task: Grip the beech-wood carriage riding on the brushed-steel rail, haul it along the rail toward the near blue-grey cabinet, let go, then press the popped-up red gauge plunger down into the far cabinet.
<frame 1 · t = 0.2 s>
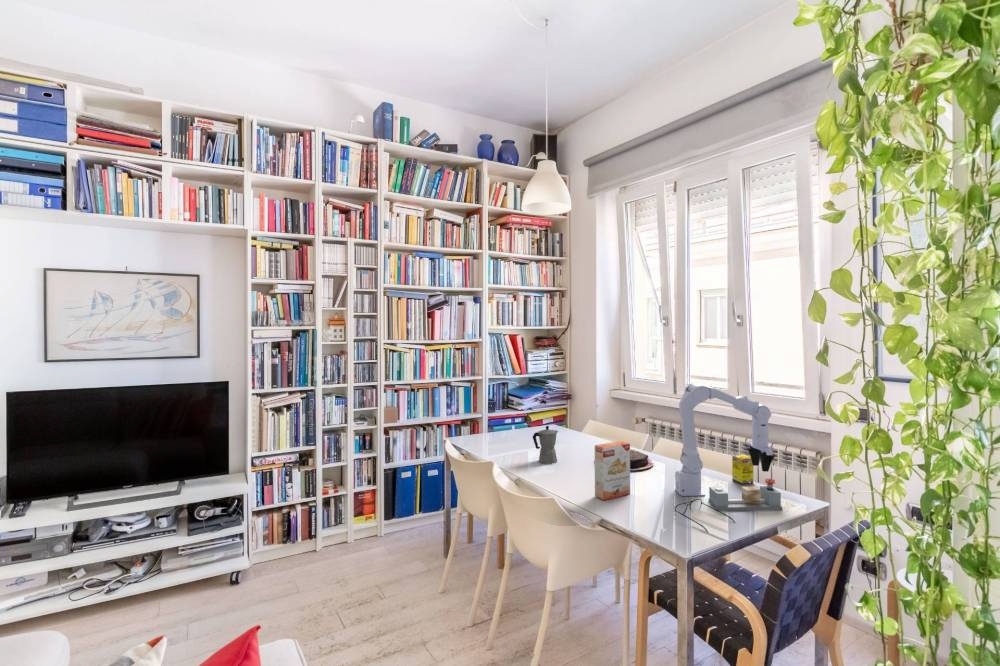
hand: (760, 468, 193), 10 cm above the table, fingers open, 7 cm apart
rail bench: (744, 505, 181), on the table
chocolate cake: (623, 464, 237), on the table
gauge plunger: (770, 485, 180), point 8 cm above the table, slide at 0.0 cm
supplement box: (742, 482, 206), on the table
coffeepot: (546, 462, 242), on the table
glasses: (704, 522, 169), on the table
cracker box: (612, 496, 194), on the table
carriage: (751, 494, 181), point 4 cm above the table, slide at 0.0 cm
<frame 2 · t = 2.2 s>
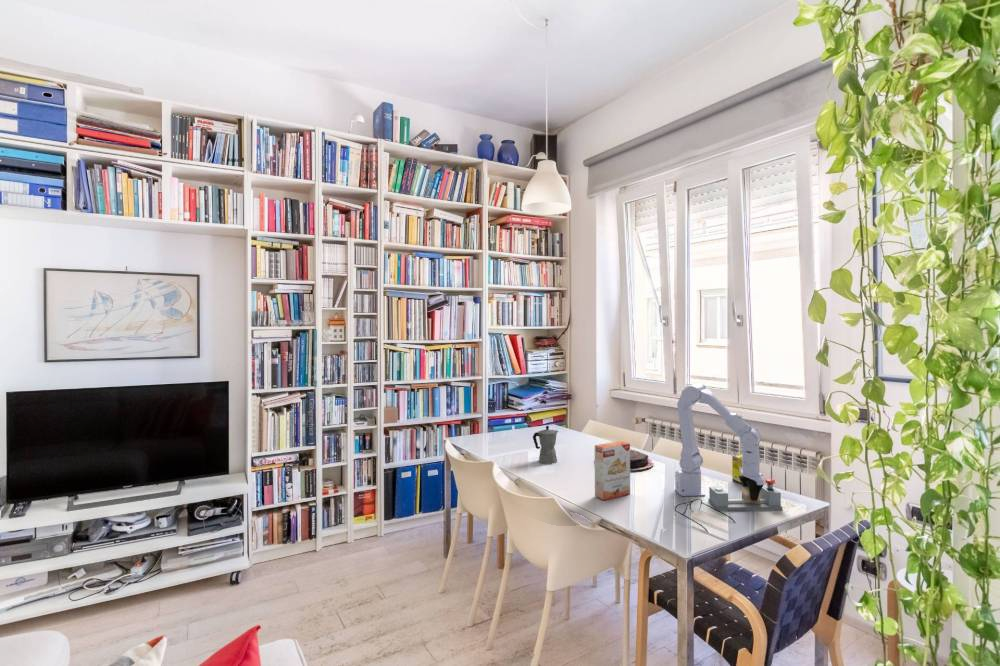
hand: (751, 497, 181), 3 cm above the table, fingers closed on carriage, 4 cm apart
carriage: (751, 494, 181), point 4 cm above the table, slide at 0.0 cm, touching gripper
everything else where it was.
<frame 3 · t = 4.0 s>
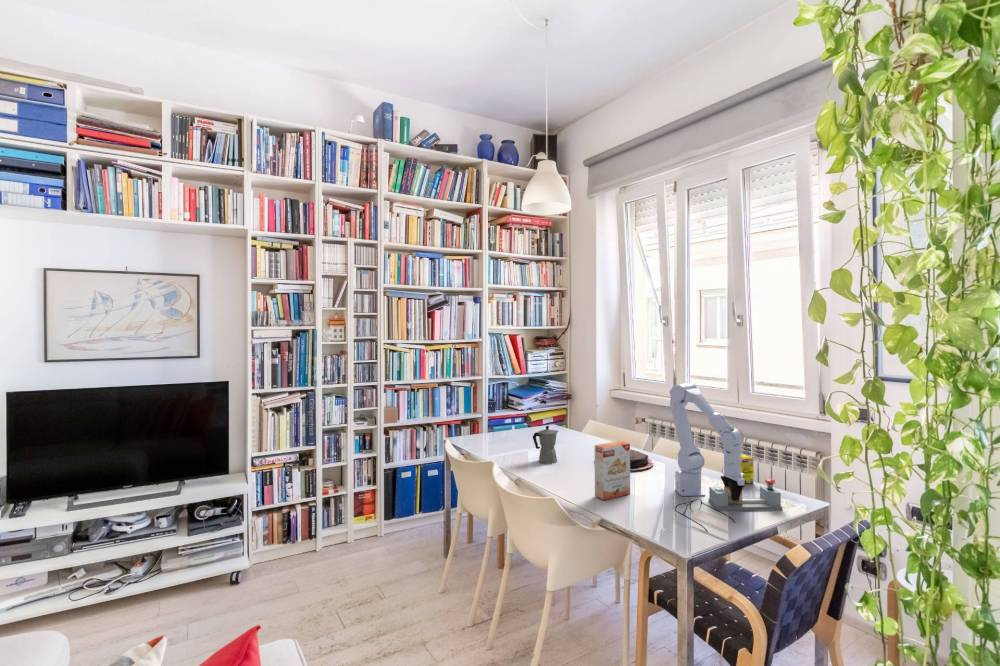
hand: (732, 498, 181), 3 cm above the table, fingers closed on carriage, 4 cm apart
carriage: (733, 495, 181), point 4 cm above the table, slide at 6.6 cm, touching gripper
everything else where it was.
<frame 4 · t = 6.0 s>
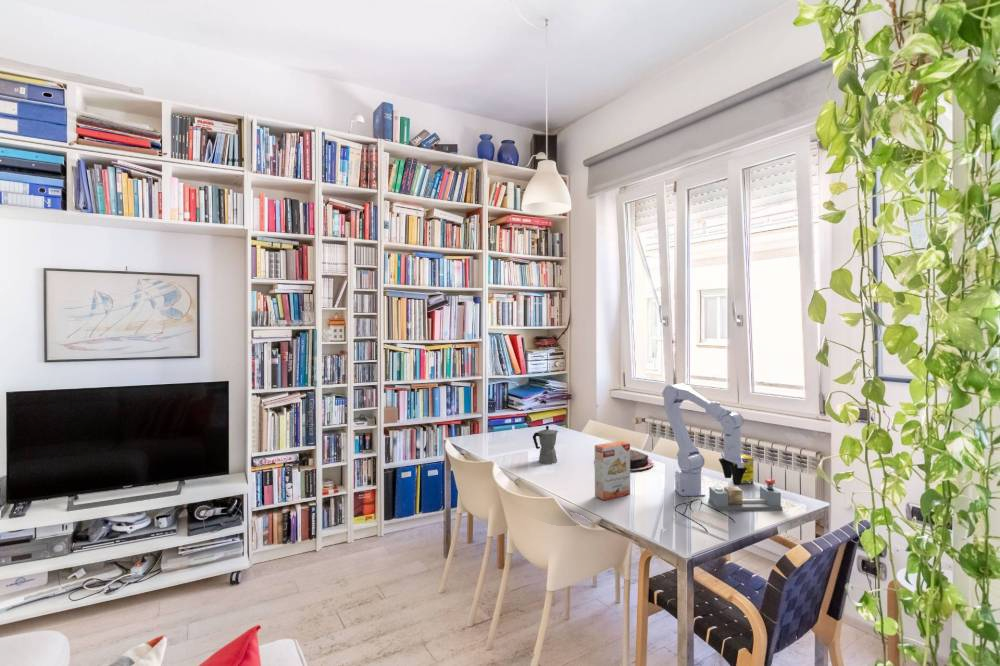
hand: (732, 481, 181), 9 cm above the table, fingers open, 7 cm apart
carriage: (733, 495, 181), point 4 cm above the table, slide at 6.6 cm
everything else where it was.
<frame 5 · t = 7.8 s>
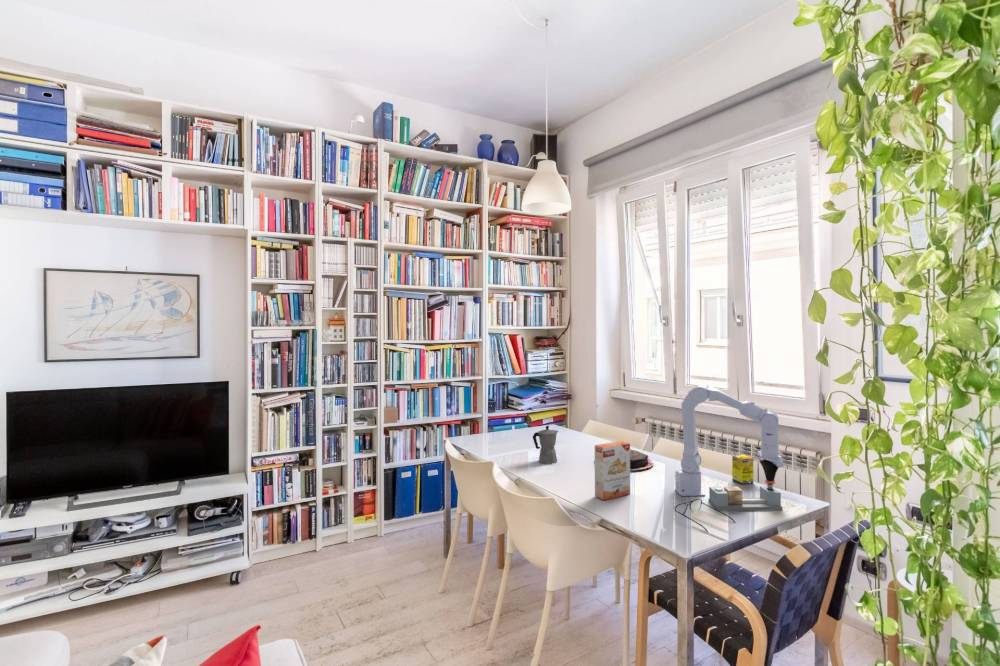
hand: (770, 480, 180), 9 cm above the table, fingers closed, pressing on gauge plunger
gauge plunger: (770, 485, 180), point 7 cm above the table, slide at 0.1 cm, touching gripper
everything else where it was.
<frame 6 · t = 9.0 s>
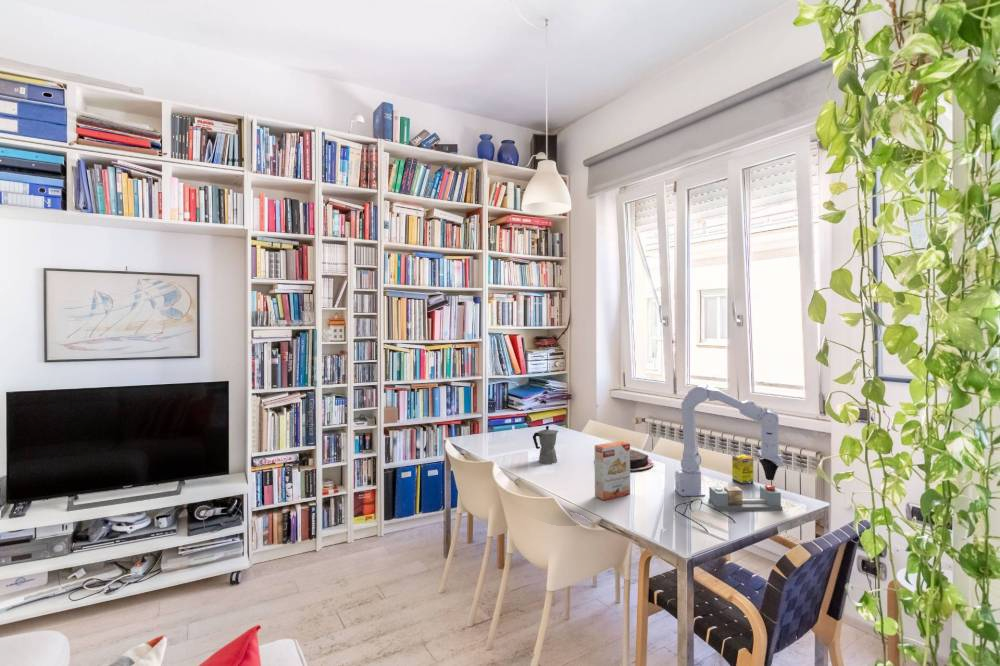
hand: (769, 479, 180), 10 cm above the table, fingers closed
gauge plunger: (770, 491, 180), point 5 cm above the table, slide at 2.3 cm
everything else where it was.
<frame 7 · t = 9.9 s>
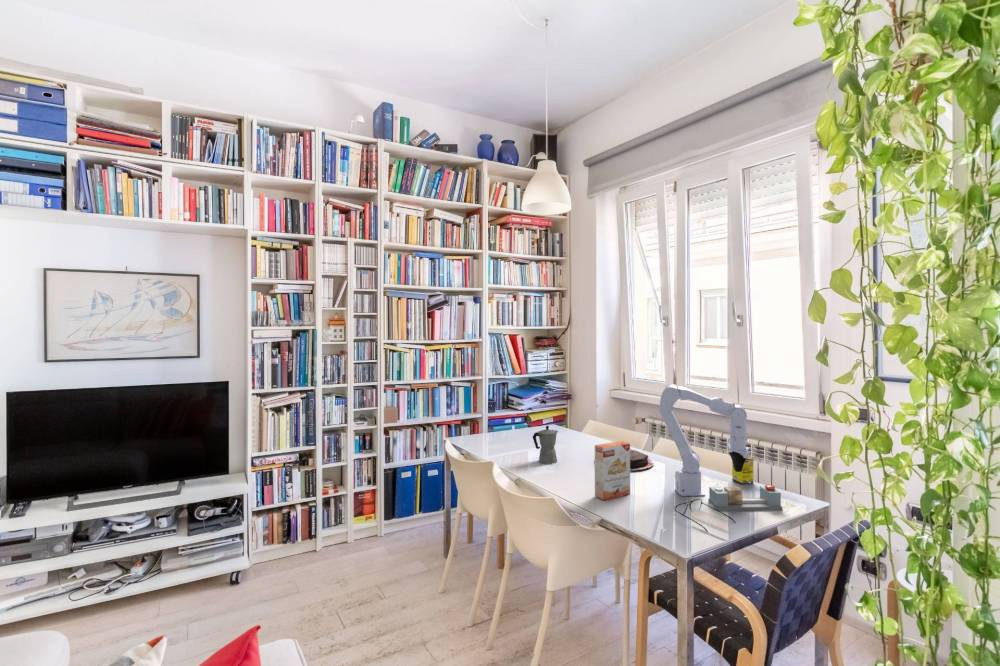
hand: (738, 471, 188), 10 cm above the table, fingers closed
nothing on the table moved.
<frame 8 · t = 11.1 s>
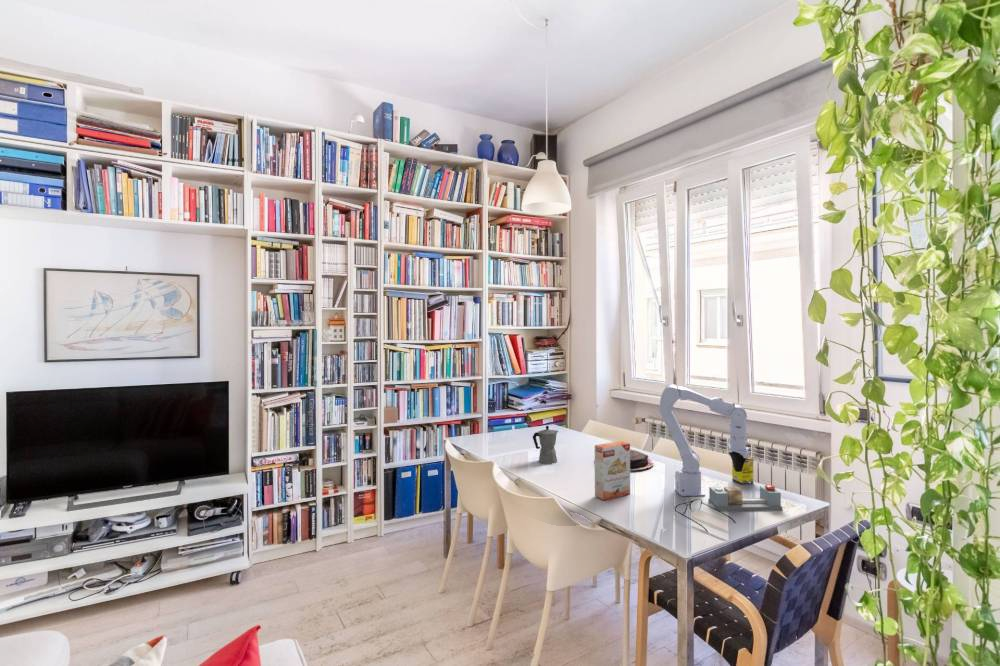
hand: (738, 471, 188), 10 cm above the table, fingers closed
nothing on the table moved.
at the end: carriage slide at 6.6 cm; gauge plunger slide at 2.3 cm; the gripper is holding nothing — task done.
